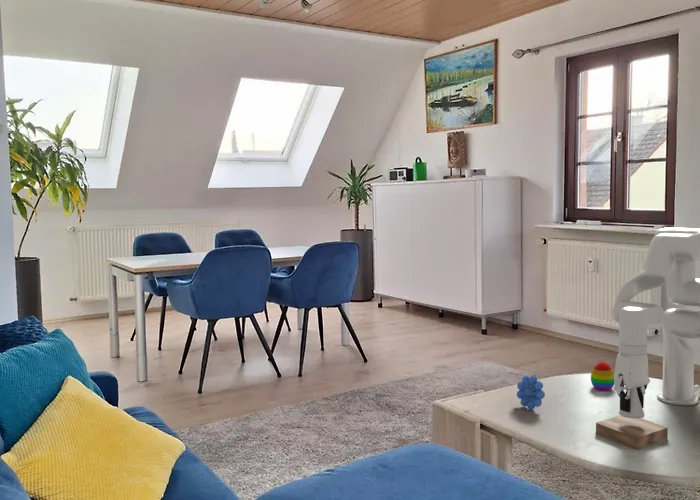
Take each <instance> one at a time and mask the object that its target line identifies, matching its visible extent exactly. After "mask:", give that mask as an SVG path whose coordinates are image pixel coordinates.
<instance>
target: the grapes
mask: <svg viewBox="0 0 700 500" xmlns="http://www.w3.org/2000/svg"><path fill="white" fill-rule="evenodd" d="M543 388H544V383H543V382H542V381H540V380H538V378H537V376H536V375H530V376H529V375H524V376H523V377H522V379H521V381H519V382H518V383H517V389H518V391H517V393H516V397H517V399H519V400H520V403H519V404H520V405H521V406H522V407H526V408H527V409H528V410H530V411H532V410H534V409H535V408H539V407H541V406H542V403H543V401H542V400H543V399H544V398H545V396H546V393H545V392H544V390H542V389H543Z"/></svg>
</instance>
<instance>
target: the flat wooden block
mask: <svg viewBox="0 0 700 500" xmlns="http://www.w3.org/2000/svg"><path fill="white" fill-rule="evenodd" d="M668 429H669V428H668V426H664V425H662V424H658V423H656V422H653V421H650V420H648V419H644V418H628V417H623V416H622V415H620V414H619V415H616V416H614V417H613V416H612V417H609V418H607V419H604V420H600V421H597V422H595V435H597V436H600V437H602V438H604V439H607V440H609V441H612V442H615V443H618V444H620V445H622V446H626V447H627V448H629V449H632V450H636V451H638V450H641V449H643V448H647V447H649V446H652V445H655V444H657V443H662V442H665V441H666V439H667V440H668V438H669V437H668V432H669V431H668Z"/></svg>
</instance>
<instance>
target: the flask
mask: <svg viewBox="0 0 700 500" xmlns="http://www.w3.org/2000/svg"><path fill="white" fill-rule="evenodd" d="M629 399H630V412H625V411H622V410H620V409H619V411H618V414H619V415H622V416H623V417H628V418H642V419H644V418H645V412H644V408H642V406H641V403H640V400H639V397H638V393H637V388H633V389H631V391H630V395H629Z"/></svg>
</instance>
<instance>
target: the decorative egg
mask: <svg viewBox="0 0 700 500" xmlns="http://www.w3.org/2000/svg"><path fill="white" fill-rule="evenodd" d="M614 374H615V371H614V370H613V368H612V367H611V365H610V364H608V362H605V361H599V362H597V363H596V364H595V365H594V367H593V368H592V371H591V373H590V382H591V384H592V385H591V386H593V388H594V389H595V390H597V391H601V392H607V391H611V390H612V389H613V388H614V386H615V385H614Z"/></svg>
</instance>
